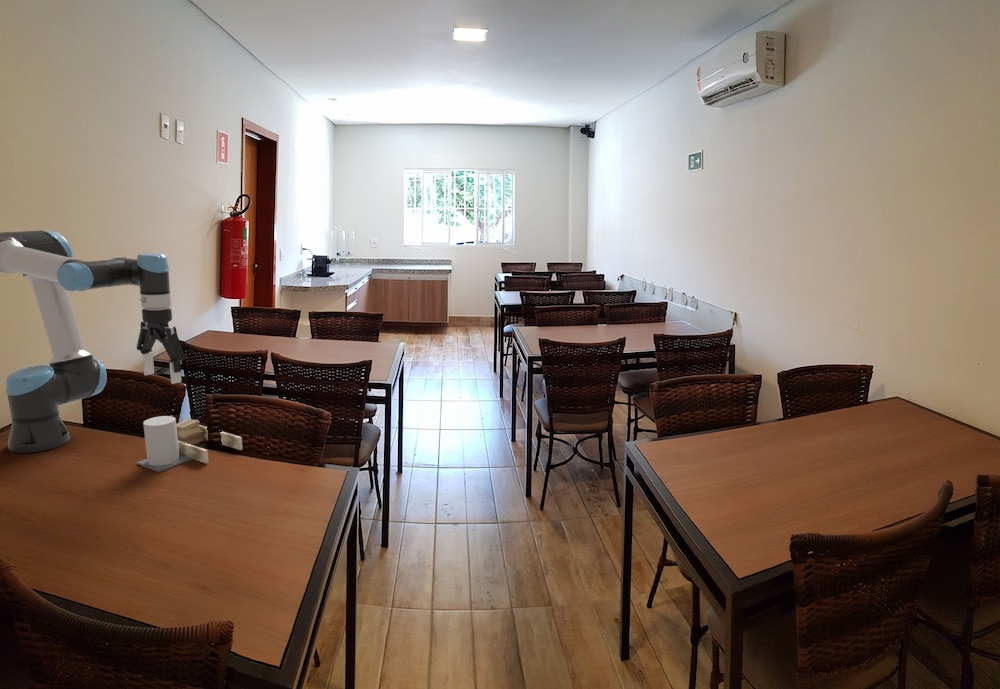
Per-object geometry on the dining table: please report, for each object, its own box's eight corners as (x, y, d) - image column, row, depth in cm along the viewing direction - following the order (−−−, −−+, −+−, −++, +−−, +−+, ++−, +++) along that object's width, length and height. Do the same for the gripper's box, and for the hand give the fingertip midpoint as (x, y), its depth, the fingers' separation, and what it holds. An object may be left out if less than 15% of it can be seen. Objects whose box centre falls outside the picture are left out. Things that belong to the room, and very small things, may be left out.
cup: (185, 455, 183) (181, 416, 180) (167, 466, 175) (163, 426, 172) (159, 453, 184) (155, 415, 181) (141, 464, 176) (136, 424, 173)
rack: (159, 447, 189) (157, 435, 188) (196, 435, 200) (195, 423, 199) (206, 463, 179) (204, 450, 178) (242, 449, 190) (241, 437, 189)
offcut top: (172, 437, 190) (171, 426, 189) (189, 429, 196) (188, 418, 196) (183, 438, 189) (182, 427, 188) (199, 430, 195) (198, 420, 195)
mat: (137, 464, 178) (136, 462, 177) (169, 452, 186) (169, 450, 186) (158, 472, 173) (158, 470, 173) (191, 459, 181) (191, 457, 181)
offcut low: (169, 447, 190) (168, 437, 190) (195, 438, 198) (194, 428, 197) (177, 450, 188) (176, 439, 188) (203, 441, 196) (202, 430, 195)
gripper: (119, 304, 182) (126, 373, 186) (169, 315, 169) (175, 389, 174) (144, 301, 188) (150, 368, 193) (195, 311, 176) (200, 383, 180)
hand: (162, 378), depth 183 cm, fingers open, 13 cm apart
